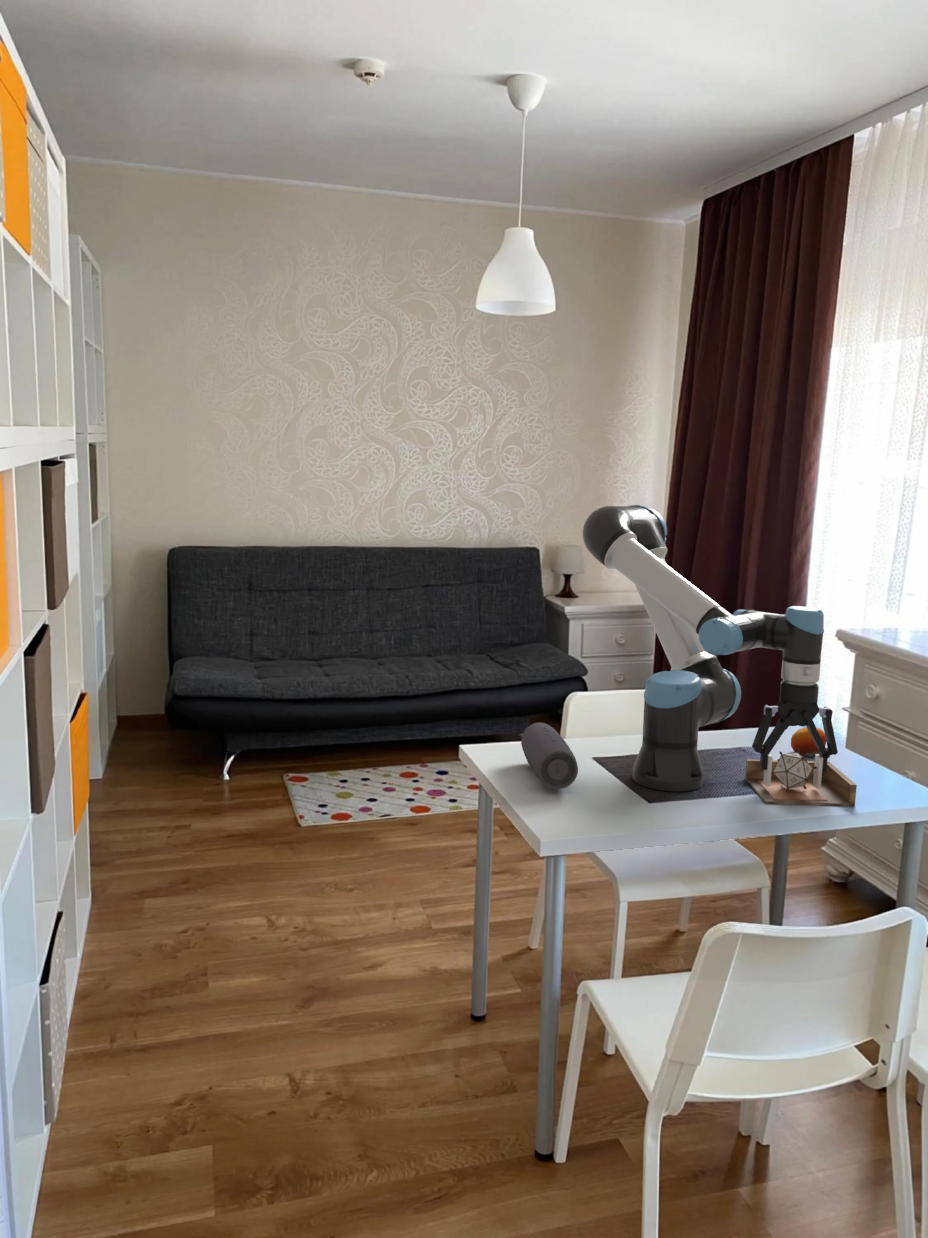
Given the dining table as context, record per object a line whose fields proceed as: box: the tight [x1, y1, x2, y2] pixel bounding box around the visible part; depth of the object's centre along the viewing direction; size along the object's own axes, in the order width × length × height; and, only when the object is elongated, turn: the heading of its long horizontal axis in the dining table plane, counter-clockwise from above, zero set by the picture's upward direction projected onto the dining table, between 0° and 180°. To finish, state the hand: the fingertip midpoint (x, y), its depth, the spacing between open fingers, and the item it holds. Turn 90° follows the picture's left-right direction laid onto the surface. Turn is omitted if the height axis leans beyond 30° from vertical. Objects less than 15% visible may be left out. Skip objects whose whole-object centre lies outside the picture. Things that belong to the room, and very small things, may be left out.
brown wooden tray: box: [744, 758, 858, 807], centre depth 204 cm, size 18×16×4 cm
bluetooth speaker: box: [520, 722, 579, 790], centre depth 210 cm, size 23×9×10 cm, turn 6°
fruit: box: [790, 726, 827, 758], centre depth 232 cm, size 8×8×8 cm
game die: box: [771, 749, 817, 792], centre depth 204 cm, size 9×8×10 cm
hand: (791, 785), depth 204 cm, fingers closed on game die, 10 cm apart
